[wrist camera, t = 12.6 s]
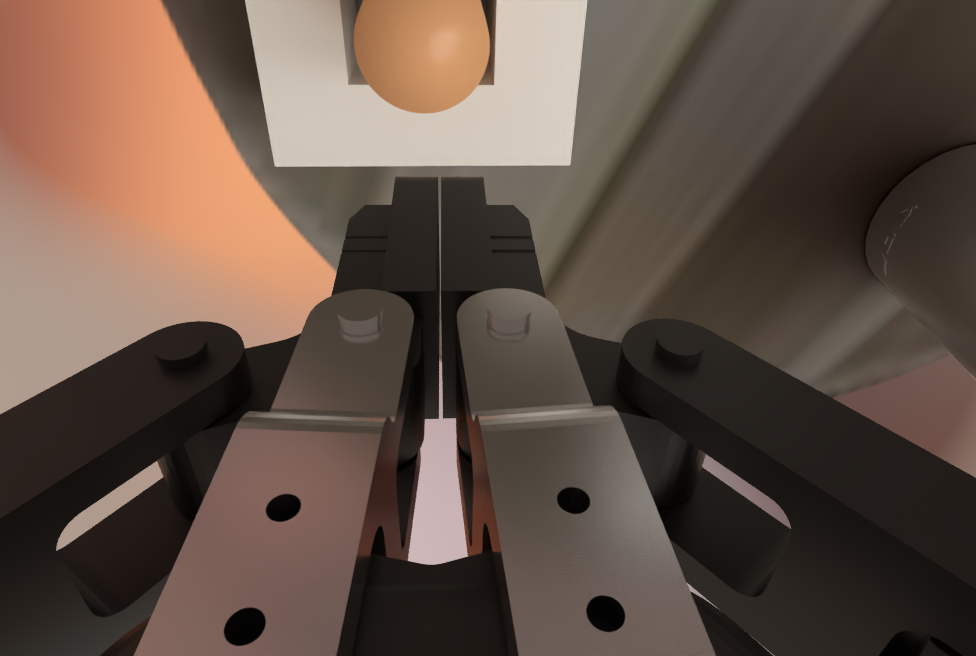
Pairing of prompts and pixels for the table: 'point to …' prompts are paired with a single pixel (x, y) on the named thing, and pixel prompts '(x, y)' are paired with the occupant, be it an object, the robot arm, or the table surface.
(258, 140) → the table surface
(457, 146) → the socket block
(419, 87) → the plug
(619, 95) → the table surface
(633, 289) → the table surface
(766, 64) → the table surface
